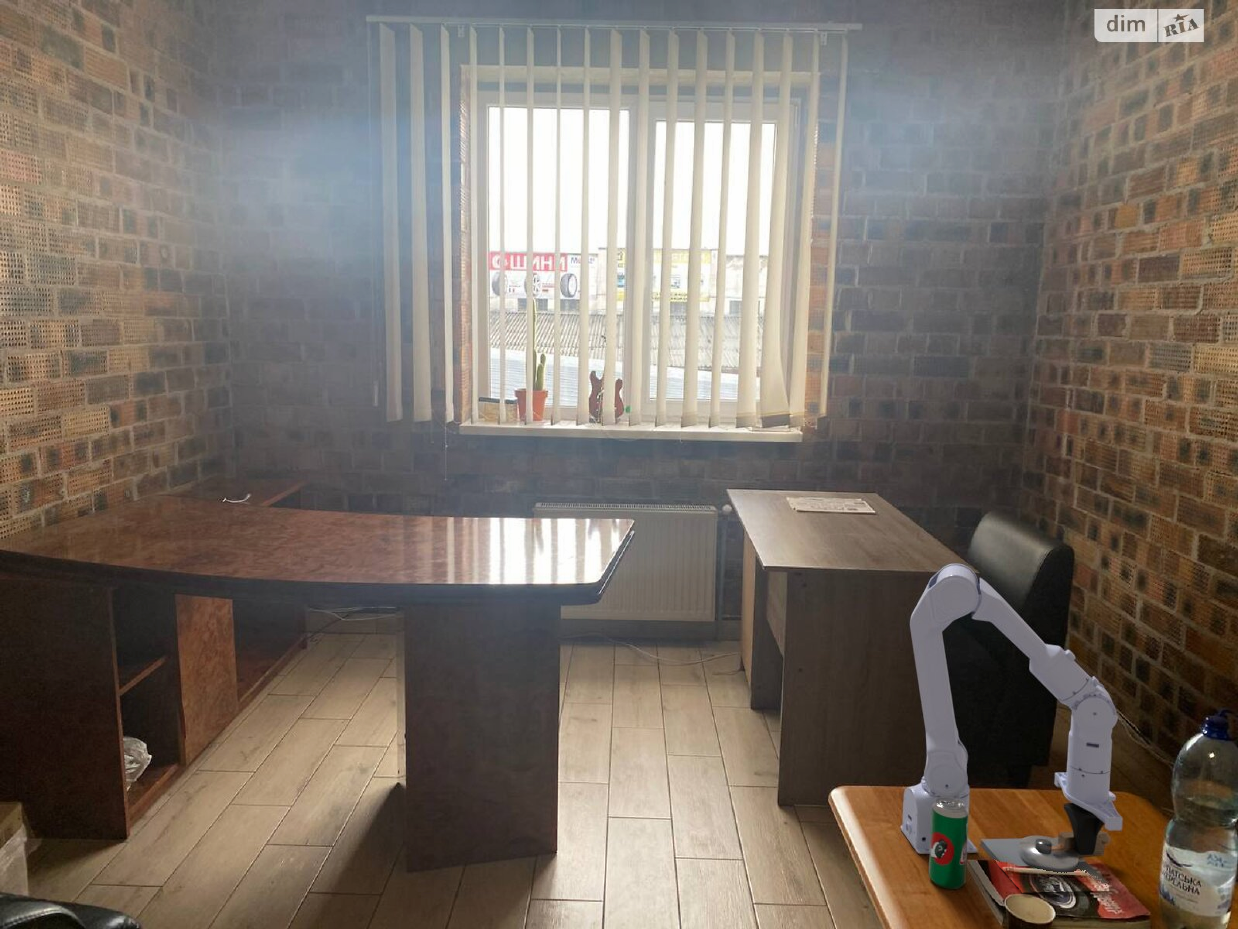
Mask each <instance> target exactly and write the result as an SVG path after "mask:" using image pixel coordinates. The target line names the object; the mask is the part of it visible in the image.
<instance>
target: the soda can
mask: <svg viewBox="0 0 1238 929" xmlns="http://www.w3.org/2000/svg"><path fill="white" fill-rule="evenodd" d="M969 815H970V812H968V810H967V809H966V804H965V803H964V802H963V801H961V800H959V799H957V798H953V797H938V798H937V799H936V800H935V803H934V804H933V806H932V815H931V836H930V854H929V858H928V859H929V862H928V876H929V878H930V879H931V881H932V882H933V883H934V884H935V885H937V886H939V887H941V888H942V889H946V890H947V889H948V890H955V889H956V890H957V889H960V888H961V887H962V886H964V884H965V883H966V878H967V877H966V876H967V875H966V874H967V857H968V853H967V841H968V839H969V818H970V816H969Z"/></svg>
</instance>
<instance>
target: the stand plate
mask: <svg viewBox="0 0 1238 929" xmlns="http://www.w3.org/2000/svg"><path fill="white" fill-rule="evenodd" d="M1054 838H1055V839H1058V837H1054ZM1022 839H1023V838H986V839H985V838H984V839H983V838H981V839H980V847H981V848H982V849H983V850H984V851H985V852H986V854H988V856H989V857H990V858H991V859H992V860H993V859H995V860H997V861H999V862H1005V863H1006V862H1007V863H1013V864H1014V865H1017V866H1031V865H1029V864H1028V863H1026V862H1025V861H1024V860H1023V859H1022V858H1021V856H1020V842H1021V840H1022ZM1077 869H1080V870H1081V871H1082V870H1083V871H1084V870H1086V871H1085V873H1087V872H1088V873H1089V874H1090V875H1091V876H1096V878H1094V877H1093V879H1102V881H1101V883H1107V884H1108V883H1109V882H1108V881H1107V880H1106V879H1105V878H1104V877H1102V875H1100V873H1098V872H1097V870H1096V869H1094V868H1093V866H1091V864H1089V862H1087V861H1086V860H1085V859H1084V858H1079V862H1078V868H1077ZM1090 875H1089V876H1090ZM1097 876H1098V878H1097ZM1091 878H1092V877H1091ZM1103 879H1104V880H1103ZM1099 882H1100V881H1099ZM1105 885H1106V884H1105ZM1108 885H1110V886H1111V884H1110V883H1109V884H1108Z"/></svg>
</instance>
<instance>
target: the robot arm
mask: <svg viewBox="0 0 1238 929" xmlns="http://www.w3.org/2000/svg"><path fill="white" fill-rule="evenodd" d="M970 613H971V619H973V620H975V621H984V622H990V623H991V624H993V626H995V627H996V628H997V629H998V630H999V631H1000V632H1001V633H1002V634H1003V635H1004V636H1005V637H1006V638H1007V639H1008V640H1010V641H1011V643H1013V644H1014V645H1015V646H1016V647H1017V648H1018V649H1019V650H1020V651H1021V652H1022V653H1023V654H1024V655H1025V656H1026V657H1028V659H1029V672H1030V673H1031V674H1032V675H1033V676H1034V677H1035V678H1036V679H1037V680H1038V681H1039V682H1040V683H1041V684H1042V685H1043V686H1044V687H1045V688H1046V689H1047V690H1048V691H1049V692H1050V693H1051V694H1052V695H1053V696H1054V697H1055V698H1056V699H1057V700H1058V702H1060V704H1062V705H1065V706H1067V707H1068V708H1069V709H1070V710H1071V717H1070V730H1069V732H1068V742H1067V745H1068V746H1067V761H1066V772H1054V785H1055V786H1056V787H1057V788H1061V790H1062V792H1063V795H1064V797H1065V799H1066V800H1068V801H1069V802H1065V803H1064V804H1063V810H1064V811H1065V813H1066V816H1067V817H1068V819H1069V822H1070V825H1071V828H1072V832H1073V835H1074V845H1075V850H1076V851H1077V852H1078V854H1079V855H1093V853H1094V850H1095V846H1096V840H1097V835H1098V833H1099V831H1100V830H1102V828H1103V827H1104V828H1105V829H1106V830H1107V831H1122V830H1123V821H1124V820H1123V819H1124V818H1123V817H1122V816H1121V814H1119V812H1118V811H1117V809H1116V807H1115V805H1114V803H1113V802H1115V801H1116V799H1117V796H1116V795H1115V794H1114V793H1113V792H1111V791H1110V784H1111V782H1110V781H1111V768H1112V766H1111V765H1112V750H1113V739H1112V734H1113V728H1114V727H1115V726H1116V724H1117V722H1118V720H1119V716H1118V715H1117V710H1116V707H1115V704H1114V702H1113V700H1112V697H1111V695H1110V693H1109V692H1108V691H1107V690H1106V689H1105V685H1103V684H1102V683H1101V682H1100V681H1099V679H1097V678H1096V676H1092V677H1091V676H1090V675H1089V674H1088V673H1087V672H1086V671H1085V670H1084V669H1083V667H1081V666H1080V665H1079V664H1078V663H1077V662H1076V661H1075V660H1076V656H1075V654H1074V652H1072V651H1071V650H1070V649H1066V650H1064V649H1063V648H1062V647H1061V646H1060V645H1054V644H1048V643H1045V641H1043V640H1042V639H1041V638H1040V636H1038V634H1037V633H1036V632H1035V631H1034V630H1033V629H1032V628H1031V627H1030V626H1029V624H1027V622H1026V621H1024V619H1023V618H1022V617H1021V616H1020V615H1019V614H1018V613H1017V612H1016V610H1014V609H1013V607H1012V606H1011V605H1010V604H1009V603H1008V602H1007V600H1005V599H1004V598H1003V597H1002V595H1000V594H999V593H998V592H997V590H995V589H994V588H993V587H992V586H991V585H990V584H989V583H988V582H987V581H986V580H985V579H983V578H982V577H979V579H978V577H977V574H976V573H975V572H974V570H973V569H972V568H970V567H969V566H967V565H964V564H962V563H950V564H947V565H944V566H943V567H942V568H940V570H938V571H937V572H936V573H935V574H934V575H932V577H931V578H930V579H929V581H928V584H927V585H926V587H925V589H924V592H923V593H922V595H921V597H920V598H919V600H918V602H917V605H916V606H915V608H914V610H913V611H912V613H911V616H910V620H909V628H910V634H911V641H912V642H911V643H912V649H913V655H914V656H913V657H914V662H915V669H916V670H915V671H916V674H917V681H918V688H919V695H920V701H921V702H920V703H921V710H922V714H923V722H924V728H925V738H926V739H925V740H926V744H925V745H926V761H925V767H924V770H923V772H924V773H923V776H922V777H921V780H920V783H918V784H916V785H912V786H907V787H906V788H905V789H904V792H903V804H902V825H900V830H901V831H902V833H903V834H904V836H905V837H906V838H907V840H908V841H909V842H910V844H911V846H912V847H913V848H914V850H915V852H916V853H918V854H919V855H920V854H921V855H925V854H926V855H930V836H931V815H932V806H933V804H934V803H935V800H936V799H937V798H938V797H953V798H957V799H959V800H961V801H963V802H964V803H965V804H966V809H967V810H968V812H969V810H970V809H969V808H970V791H971V790H970V789H971V787H970V785H969V784H968V782H969V781H968V779H969V778H968V773H967V768H968V766H967V764H968V760H969V755H968V751H967V749H966V746H965V745H964V744H963V742H962V741H961V740H960V737H959V736H960V735H959V730H958V728H957V727H958V726H957V723H956V718H955V710H954V705H953V696H952V691H951V685H950V677H949V670H948V664H947V658H946V652H945V651H946V649H945V644H944V638H943V631H945V629H947V628H948V627H949V625H951V624H952V622H954V621H955V620H957V619H959V618H962V617H964V616H966V615H968V614H970ZM969 813H970V812H969ZM973 853H975V854H976V853H978V848H977V846H975V845H974V843H973V842H972V841H971V840H970V839H969V838H968V841H967V854H973Z"/></svg>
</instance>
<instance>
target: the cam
mask: <svg viewBox="0 0 1238 929" xmlns="http://www.w3.org/2000/svg"><path fill="white" fill-rule="evenodd" d="M1055 838H1056V837H1051V836H1045V835H1029V836H1025V837H1024V838H1023V839H1022V840H1021V842H1020V856H1021V858H1022V859H1023V860H1024V861H1025V862H1026V863H1028V864H1029V865H1031V866H1033V867H1035V868H1037V869H1043V870H1046V871H1053V872H1057V873H1058V872H1061V873H1062V872H1064V873H1065V872H1066V873H1067V872H1074V871H1076V870H1077V868H1078V862H1079V858H1083V859H1084V858H1090V857H1091V858H1092V857H1100V856H1105V846H1107V845H1109V844H1110V841H1111V836H1110V835H1109V834H1108V832H1106V831H1104V830H1102V829H1100V831H1099V833H1098V835H1097V840H1096V846H1095V850H1094V853H1093V855H1079V854H1078V852H1077V851H1076V850H1075V845H1074V835H1073V831H1067V832H1059V833H1058V834H1057V838H1058V839H1055Z"/></svg>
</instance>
